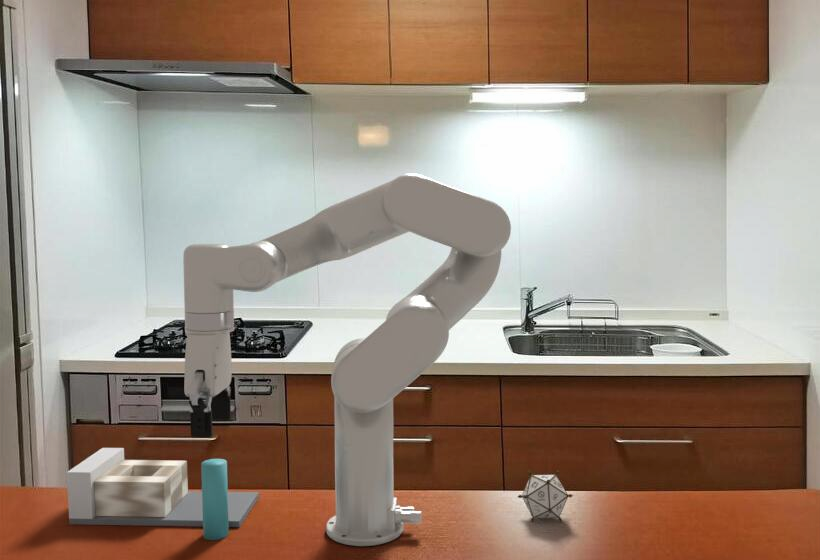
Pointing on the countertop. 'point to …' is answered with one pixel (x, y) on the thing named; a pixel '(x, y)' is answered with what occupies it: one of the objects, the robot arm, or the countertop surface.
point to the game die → (544, 496)
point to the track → (180, 515)
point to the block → (141, 488)
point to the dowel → (215, 499)
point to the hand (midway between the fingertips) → (211, 427)
